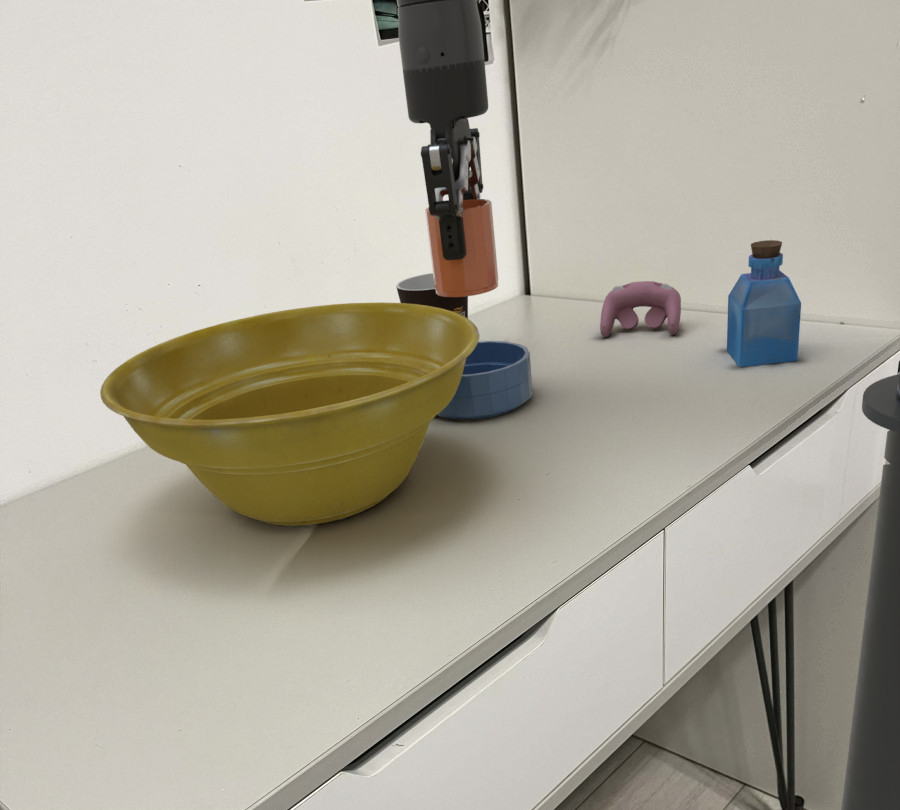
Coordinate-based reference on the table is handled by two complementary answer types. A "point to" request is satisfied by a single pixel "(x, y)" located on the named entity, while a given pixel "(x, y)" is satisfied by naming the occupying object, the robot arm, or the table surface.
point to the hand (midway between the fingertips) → (463, 250)
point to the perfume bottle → (763, 311)
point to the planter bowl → (298, 403)
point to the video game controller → (637, 295)
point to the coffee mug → (429, 295)
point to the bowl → (492, 381)
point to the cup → (480, 259)
